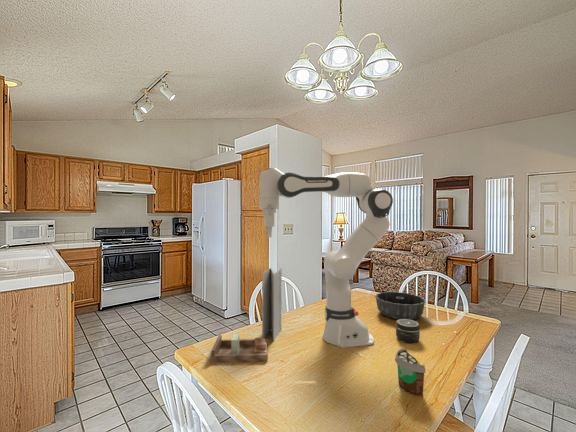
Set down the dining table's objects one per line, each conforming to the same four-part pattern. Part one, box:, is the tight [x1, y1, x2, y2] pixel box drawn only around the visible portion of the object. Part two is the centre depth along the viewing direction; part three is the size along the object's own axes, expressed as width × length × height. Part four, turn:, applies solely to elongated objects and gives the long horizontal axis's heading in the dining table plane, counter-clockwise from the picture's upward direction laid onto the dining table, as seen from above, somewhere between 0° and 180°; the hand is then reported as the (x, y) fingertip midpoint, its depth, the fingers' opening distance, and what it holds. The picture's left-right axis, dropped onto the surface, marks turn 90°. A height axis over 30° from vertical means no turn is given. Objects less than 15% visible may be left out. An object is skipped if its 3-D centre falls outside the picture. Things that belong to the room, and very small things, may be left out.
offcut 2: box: [254, 343, 267, 354], centre depth 116 cm, size 5×8×2 cm, turn 2°
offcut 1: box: [254, 337, 266, 351], centre depth 116 cm, size 4×6×2 cm, turn 10°
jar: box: [395, 318, 421, 345], centre depth 129 cm, size 10×10×8 cm
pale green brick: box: [230, 333, 240, 354], centre depth 115 cm, size 2×6×6 cm, turn 2°
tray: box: [210, 334, 269, 364], centre depth 115 cm, size 21×14×5 cm, turn 92°
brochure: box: [261, 267, 283, 342], centre depth 134 cm, size 14×6×30 cm, turn 168°
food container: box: [394, 347, 426, 397], centre depth 94 cm, size 12×6×10 cm, turn 5°
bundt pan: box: [374, 291, 427, 321], centre depth 161 cm, size 26×26×10 cm
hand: (268, 236), depth 128 cm, fingers open, 8 cm apart
